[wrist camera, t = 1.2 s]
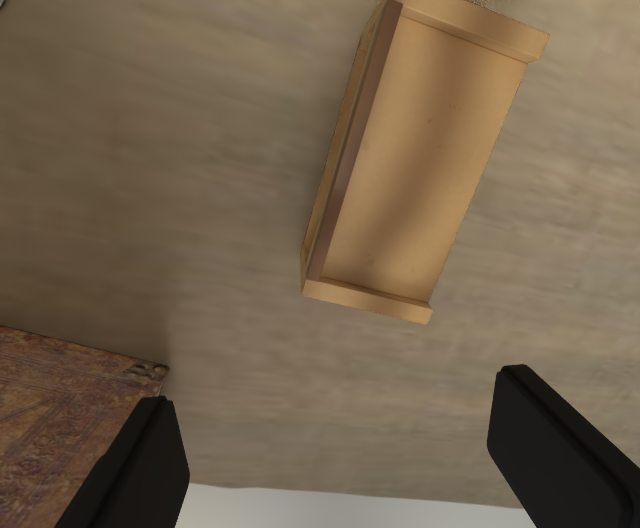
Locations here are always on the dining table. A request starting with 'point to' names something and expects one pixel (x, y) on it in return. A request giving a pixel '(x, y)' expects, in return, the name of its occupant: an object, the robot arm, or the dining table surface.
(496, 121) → the tray
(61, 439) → the book
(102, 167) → the dining table surface
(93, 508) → the robot arm
